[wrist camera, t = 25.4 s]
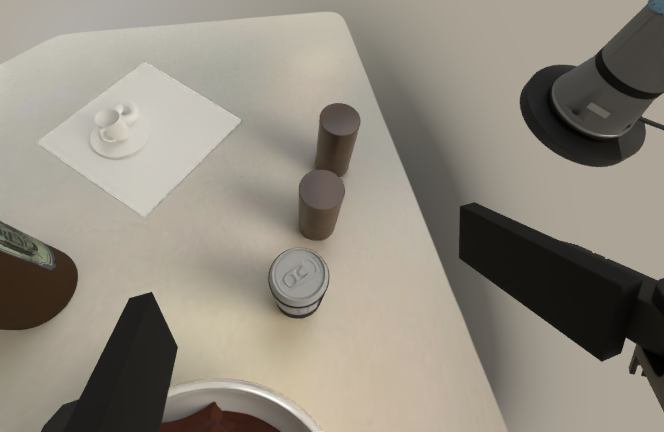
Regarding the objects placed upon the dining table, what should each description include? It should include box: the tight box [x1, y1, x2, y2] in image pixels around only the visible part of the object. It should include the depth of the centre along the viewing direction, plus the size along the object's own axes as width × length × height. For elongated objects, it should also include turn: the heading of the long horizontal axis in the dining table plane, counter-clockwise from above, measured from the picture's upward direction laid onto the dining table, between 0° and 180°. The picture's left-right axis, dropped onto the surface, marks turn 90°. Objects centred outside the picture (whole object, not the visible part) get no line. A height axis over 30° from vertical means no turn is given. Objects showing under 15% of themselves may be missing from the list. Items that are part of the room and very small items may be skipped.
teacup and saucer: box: [88, 100, 151, 159], centre depth 44 cm, size 9×8×4 cm
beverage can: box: [268, 248, 329, 319], centre depth 34 cm, size 6×6×12 cm
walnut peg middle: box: [299, 170, 345, 240], centre depth 39 cm, size 5×5×10 cm
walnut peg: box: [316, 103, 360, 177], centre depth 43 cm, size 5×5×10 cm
